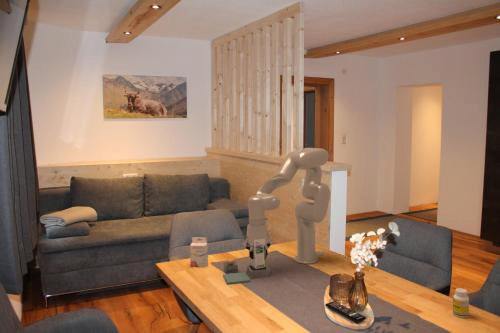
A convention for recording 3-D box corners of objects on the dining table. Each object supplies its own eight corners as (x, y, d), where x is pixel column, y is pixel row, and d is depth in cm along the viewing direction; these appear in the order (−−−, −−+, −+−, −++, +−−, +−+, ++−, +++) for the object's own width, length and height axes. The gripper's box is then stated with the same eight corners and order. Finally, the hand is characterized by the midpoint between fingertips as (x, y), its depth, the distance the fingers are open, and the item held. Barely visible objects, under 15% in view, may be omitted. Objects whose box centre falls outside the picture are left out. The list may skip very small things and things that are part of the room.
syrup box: (255, 269, 207) (254, 240, 205) (251, 265, 212) (250, 237, 210) (266, 267, 209) (265, 238, 207) (261, 263, 214) (260, 235, 213)
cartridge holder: (264, 270, 216) (264, 263, 216) (269, 276, 207) (269, 269, 207) (246, 272, 214) (246, 265, 214) (251, 278, 205) (251, 271, 205)
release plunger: (233, 268, 218) (233, 257, 217) (235, 270, 214) (235, 259, 213) (226, 269, 217) (225, 258, 216) (227, 271, 213) (227, 260, 212)
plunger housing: (235, 268, 219) (235, 261, 219) (237, 272, 213) (237, 265, 213) (223, 270, 218) (223, 262, 217) (226, 274, 212) (225, 266, 211)
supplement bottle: (449, 312, 165) (450, 287, 164) (463, 311, 165) (464, 286, 164) (457, 318, 160) (458, 293, 158) (471, 317, 160) (472, 292, 159)
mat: (244, 273, 212) (244, 271, 211) (250, 281, 201) (250, 279, 201) (222, 276, 209) (222, 274, 209) (227, 284, 198) (227, 282, 198)
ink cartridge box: (190, 267, 224) (189, 239, 222) (192, 263, 229) (191, 236, 227) (206, 267, 223) (205, 239, 221) (208, 263, 228) (207, 236, 226)
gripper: (271, 218, 213) (273, 253, 216) (237, 221, 209) (239, 257, 212) (276, 221, 206) (277, 257, 208) (241, 225, 202) (243, 262, 204)
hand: (258, 257), depth 210 cm, fingers closed on syrup box, 6 cm apart
